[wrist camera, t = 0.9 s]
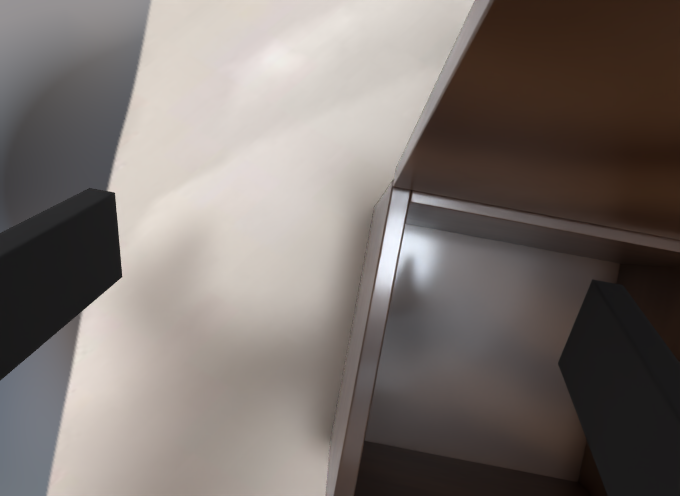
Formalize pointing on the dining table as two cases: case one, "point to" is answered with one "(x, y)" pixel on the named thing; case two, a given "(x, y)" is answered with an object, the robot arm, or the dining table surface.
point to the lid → (558, 113)
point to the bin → (479, 347)
